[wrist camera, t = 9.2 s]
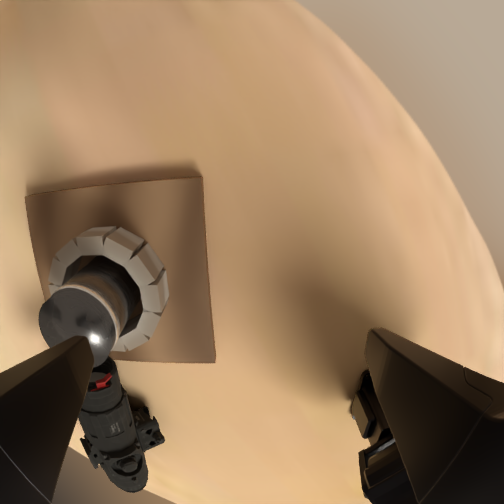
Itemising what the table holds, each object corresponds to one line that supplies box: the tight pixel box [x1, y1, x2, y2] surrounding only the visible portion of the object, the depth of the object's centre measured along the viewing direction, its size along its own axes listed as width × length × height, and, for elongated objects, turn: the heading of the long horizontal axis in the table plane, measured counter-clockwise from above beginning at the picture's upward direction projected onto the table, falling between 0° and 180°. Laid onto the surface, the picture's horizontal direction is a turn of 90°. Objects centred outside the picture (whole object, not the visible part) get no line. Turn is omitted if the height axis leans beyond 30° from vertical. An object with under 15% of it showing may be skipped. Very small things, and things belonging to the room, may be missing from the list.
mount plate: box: [25, 177, 216, 363], centre depth 20 cm, size 14×14×4 cm
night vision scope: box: [78, 356, 165, 493], centre depth 23 cm, size 8×18×10 cm
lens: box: [39, 255, 141, 367], centre depth 18 cm, size 5×5×7 cm
